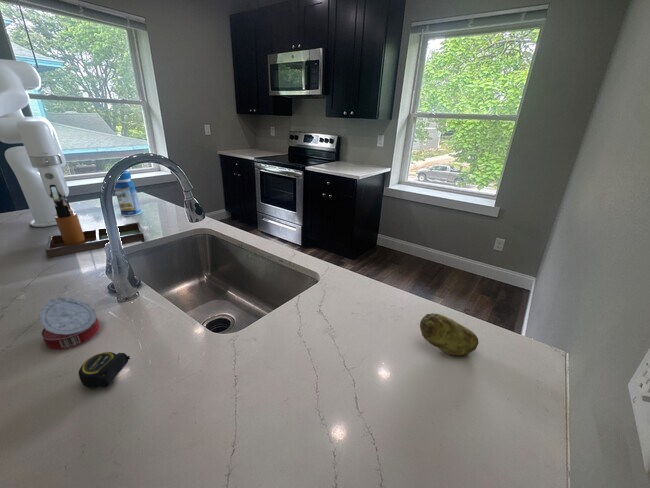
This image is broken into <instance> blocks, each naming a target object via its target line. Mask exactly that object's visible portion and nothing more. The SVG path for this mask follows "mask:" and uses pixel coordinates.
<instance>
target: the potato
mask: <svg viewBox="0 0 650 488" xmlns="http://www.w3.org/2000/svg"><path fill="white" fill-rule="evenodd" d="M419 330H420V333H421V336H422V337H423V339H424V340H425V341H426V342H428V343H429V344H430V345H431V346H433V347H435V348H437V349H439V350H440V351H442V352H443V353H445V354H448V355H451V356H463V355H468V354H470V353H472V352H474V351H475V350H476V349H477V348H478V346H479V337H478V336H477V335H476V333H474V332H473V331H472V330H471V329H469V328H468V327H466V326H464V325H463V324H461V323H459V322H457V321H455V320H454V319H452V318H450V317H447V316H446V315H444V314H439V313H433V312H432V313H427V314H425V315H424V316H422V318H421V320H420V323H419Z"/></svg>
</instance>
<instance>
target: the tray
mask: <svg viewBox="0 0 650 488" xmlns="http://www.w3.org/2000/svg"><path fill="white" fill-rule="evenodd" d="M117 226H118V228H119V232H120V238H121V241H122V245H127V244H133V243H138V242H141V243H145V242H146V240H145V236H144V232H143V229H142V226H141V224H140V222H139V221H138V222H132V223H131V222H130V223H125V224H119V225H117ZM82 231H83V234H84V237H85V240H86V243H80V244H74V245H69V246H65V244H64V241H63V238H62V236H61V234H54V235H50V236H48V240H47V244H46V247H45V253H46V255H47V258H48V259H52V258H58V257H64V256H67V255H68V256H69V255H75V254H79V253H85V252H90V251H95V250H101V249H105V248H104V247H105V244H106V243H108V242H109V240H108V236H107V233H106V229H105V227H99V228H94V229H86V230H82ZM122 245H121V246H122Z"/></svg>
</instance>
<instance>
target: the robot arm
mask: <svg viewBox="0 0 650 488" xmlns="http://www.w3.org/2000/svg"><path fill="white" fill-rule="evenodd" d="M41 85H42V80H41V76H40V75H39V72H38V71H37V70H36V68H35V67H34V66H33V65H32V64H31V63H29V62H27V61H24V60H14V59H6V58H5V59H4V58H0V142H1V143H4V144H9V145H10V144H11V145H12V144H23V145H21V146H12V147H9V148H7V149H6V150H5V151H4V158H5V160H6V162H7V163H8V165H9V167H10V168H11V170H12V172H13V173H14V176H15V177H16V179H17V182H18V183H19V187H20V189H21V191H22V194H23V196H24V199H25V200H26V203H27V206H28V209H29V210H30V213H31V215H32V218H33V219H32V220H31V221H30V223H29V224H30V225H31V226H32V227H34V228H44V227H45V228H47V227H52V226H58V225H57V222H56V220H55V216H56V215H57V214H58V217H59V218H64V217H70V216H71V214H70V212H69V209H72V208H71V205H70V203H69V201H68V199H67V197H68V196H69V194H70V189H69V185H68V184H67V181H66V178H65V176H64V172H63V170H62V169H61V168H64V167H65V166H66V165H67V161H66V157H65V153H64V151H63V148H62V146H61V144H60V142H59V139H58V135H57V133H56V130H55V128H54V127H53V125H52V123H51V122H50V121H49V120H48V119H47V118H45V117H43V116H25V115H24V114H23V111H22V110H23V109H25V108H26V107H27V106H28V105H29V104H30V95H29V94H28V91H35V90H39V89H40V88H41ZM61 199H62V200H61ZM64 199H66V200H67V204H68V206H67V205H66V203H65V200H64ZM68 207H69V209H68ZM56 211H57V214H56Z"/></svg>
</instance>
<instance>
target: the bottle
mask: <svg viewBox="0 0 650 488" xmlns="http://www.w3.org/2000/svg"><path fill="white" fill-rule="evenodd" d="M61 200H62V199H61ZM64 200H65V203H66V205H67V206H68V204H67V201H68V199H67V200H66V199H64ZM68 209H69V207H68ZM69 212H70V214H71V216H70V217H64V218H59V217H58V214H57V211H56V214H57V215H56V216H55V220H56V222H57V225H56V226H57V227H58V230H59V233H60V235H61V236H62V238H63V241H64V244H65V246H69V245H74V244H80V243H86V240H85V237H84V234H83V231H84V230H83V228H82V226H81V223H80V220H79V216H78V214H77V212H75V211H74V210H73V209H72V208H71V209H69Z"/></svg>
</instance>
